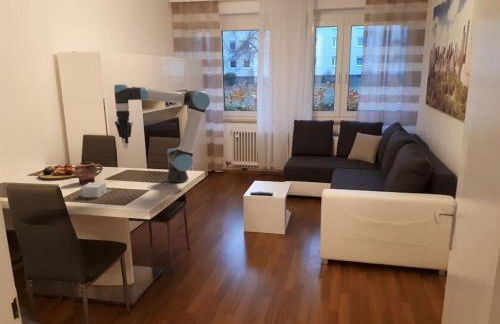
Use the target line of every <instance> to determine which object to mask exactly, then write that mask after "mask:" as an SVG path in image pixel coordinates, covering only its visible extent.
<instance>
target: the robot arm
mask: <svg viewBox="0 0 500 324" xmlns="http://www.w3.org/2000/svg"><path fill="white" fill-rule="evenodd" d="M113 87H114V88H113V90H114V91H113V92H114V102H115V110H116V117H117V120H116V121H114V124H115V126H116V130H117V133H118V137H119V138H121V143H122V149H123V150H127V149H129V139H130V138H131V135H132V127H133V121H130V118H129V117H130V109H129V108H130V107H129V101H141V100H142V101H154V102H163V103H174V104H175V103H176V104H180V105H181V106H187V110H188V114H187V118H186V122H185V124H184V128H183V133H182V136H181V139H180V143H179V146H178V147H175V148H169V149H167V153H166V154H167V167H168V171H167V175H166V182H167V183H169V182H170V183H169V184H179V183H178V182H182V183H184V182H183V181H186V180H188V181H189V175H188V173H187V171H189V170H191V168H193V167H192V166H193V163H194V160H193V157H194V156H193V155H194V151H193V147H194V143H195V141H196V136H197V134H198V130H199V127H200V126H199V125H200V123H201V120H202V116H203V115H204V114H205V113H206V110H207V108H208V107H209V106H210V105H211V98H210V96H209V94H208V93H207V92H205V91H203V90H182V91H174V90H167V89H166V90H165V89H157V88H156V89H155V88H148V87H144V86H143V87H141V86H140V87H139V86H138V87H137V86H131V87H128V85H127V84H115V85H114V86H113ZM186 182H187V181H186Z"/></svg>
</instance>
